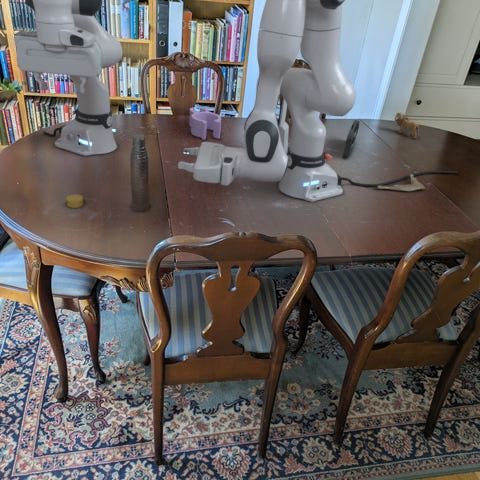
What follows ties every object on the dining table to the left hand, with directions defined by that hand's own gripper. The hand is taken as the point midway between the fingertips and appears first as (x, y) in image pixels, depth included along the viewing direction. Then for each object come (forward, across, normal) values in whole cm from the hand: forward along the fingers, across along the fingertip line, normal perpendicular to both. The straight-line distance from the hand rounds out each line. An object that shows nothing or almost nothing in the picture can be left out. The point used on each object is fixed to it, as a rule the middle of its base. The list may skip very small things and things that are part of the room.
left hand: (62, 91), depth 121 cm
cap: (+32, 0, 0) cm, 32 cm away
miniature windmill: (+33, +67, +87) cm, 114 cm away
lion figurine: (+33, +127, +91) cm, 160 cm away
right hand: (+16, +31, +1) cm, 35 cm away
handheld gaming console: (+33, +95, +64) cm, 120 cm away
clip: (+33, +33, +72) cm, 86 cm away
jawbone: (+33, +107, +33) cm, 117 cm away
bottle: (+33, +19, +1) cm, 38 cm away
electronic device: (+33, +61, +52) cm, 87 cm away
